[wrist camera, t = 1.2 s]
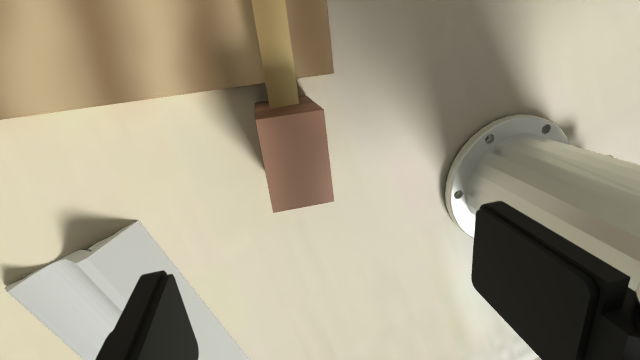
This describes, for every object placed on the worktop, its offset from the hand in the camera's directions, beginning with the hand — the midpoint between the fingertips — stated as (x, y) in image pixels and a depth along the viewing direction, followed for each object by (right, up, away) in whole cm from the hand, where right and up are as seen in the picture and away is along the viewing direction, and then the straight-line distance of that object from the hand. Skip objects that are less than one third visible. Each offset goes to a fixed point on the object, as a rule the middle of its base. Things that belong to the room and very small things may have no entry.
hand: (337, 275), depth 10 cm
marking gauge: (-4, +11, +15) cm, 19 cm away
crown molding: (-14, -15, +24) cm, 32 cm away
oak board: (-14, +12, +12) cm, 22 cm away
